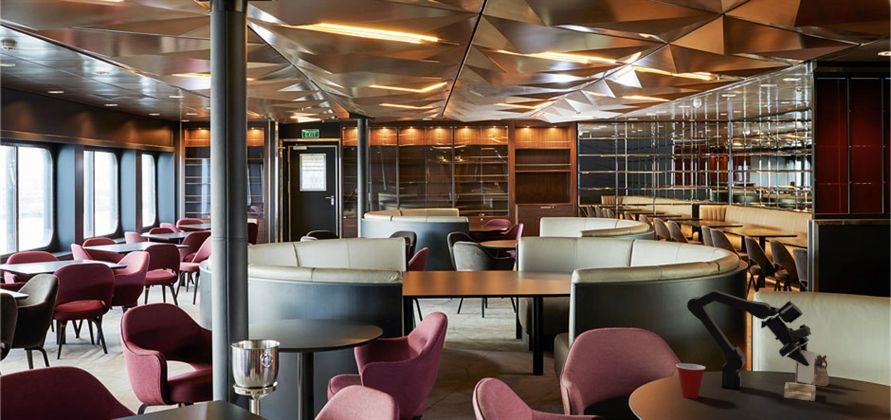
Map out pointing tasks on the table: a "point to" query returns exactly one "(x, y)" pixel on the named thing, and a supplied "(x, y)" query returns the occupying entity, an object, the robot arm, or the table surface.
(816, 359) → the figurine
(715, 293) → the robot arm
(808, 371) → the block
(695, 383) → the plastic cup
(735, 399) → the table surface
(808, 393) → the cradle
